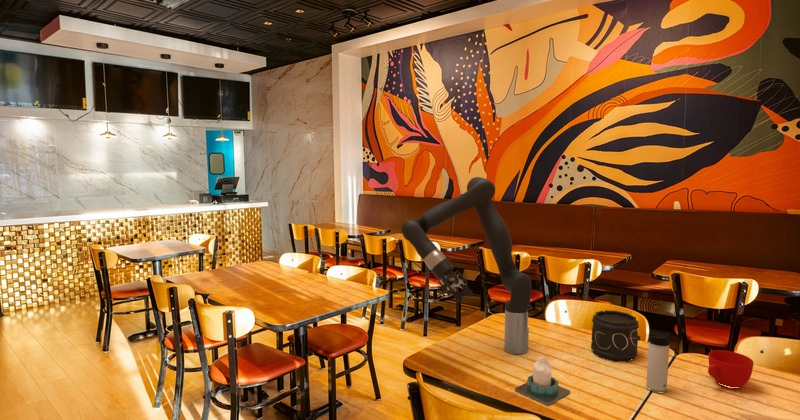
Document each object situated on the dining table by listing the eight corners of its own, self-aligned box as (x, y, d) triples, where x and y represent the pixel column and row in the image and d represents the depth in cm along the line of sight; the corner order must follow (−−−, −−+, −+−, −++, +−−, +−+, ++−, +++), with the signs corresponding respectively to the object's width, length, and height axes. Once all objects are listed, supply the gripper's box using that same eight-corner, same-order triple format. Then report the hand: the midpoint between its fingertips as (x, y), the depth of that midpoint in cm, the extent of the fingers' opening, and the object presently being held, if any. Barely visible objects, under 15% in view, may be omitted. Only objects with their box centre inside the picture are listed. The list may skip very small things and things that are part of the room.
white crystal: (548, 352, 166) (554, 359, 161) (547, 385, 168) (553, 393, 162) (531, 352, 166) (536, 359, 160) (530, 385, 167) (535, 393, 162)
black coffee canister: (639, 366, 185) (642, 326, 183) (589, 358, 192) (591, 320, 190) (638, 349, 201) (640, 312, 199) (592, 342, 208) (593, 307, 207)
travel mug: (670, 394, 163) (673, 337, 161) (649, 392, 164) (652, 336, 162) (664, 386, 169) (667, 330, 167) (643, 384, 170) (646, 329, 168)
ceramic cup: (690, 382, 172) (692, 355, 171) (722, 373, 178) (724, 347, 177) (726, 398, 160) (729, 370, 159) (760, 389, 166) (762, 361, 165)
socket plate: (537, 379, 174) (537, 369, 174) (570, 393, 164) (570, 382, 164) (515, 391, 166) (515, 379, 165) (547, 406, 156) (548, 394, 155)
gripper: (436, 261, 173) (465, 297, 169) (452, 254, 185) (480, 287, 181) (423, 274, 176) (451, 309, 172) (440, 266, 189) (467, 299, 184)
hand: (466, 298), depth 176 cm, fingers open, 8 cm apart
